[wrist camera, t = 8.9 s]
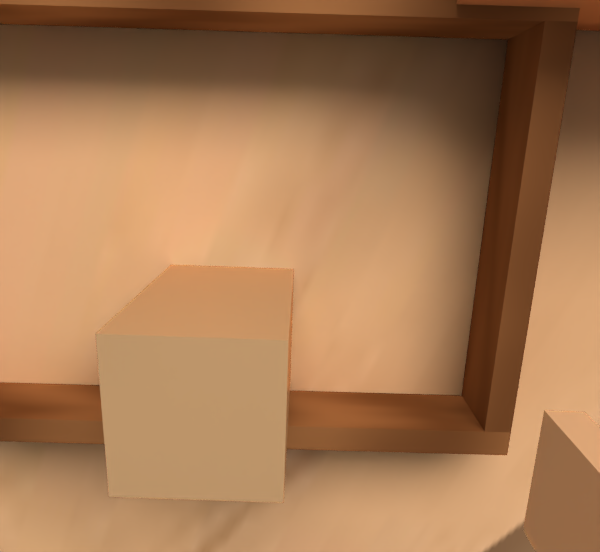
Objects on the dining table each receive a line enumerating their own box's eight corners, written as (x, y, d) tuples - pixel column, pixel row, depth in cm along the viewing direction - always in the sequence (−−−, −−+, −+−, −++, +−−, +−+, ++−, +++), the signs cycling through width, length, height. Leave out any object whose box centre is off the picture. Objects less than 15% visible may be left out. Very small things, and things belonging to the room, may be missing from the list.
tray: (-85, 400, 17) (-140, 437, 15) (-168, -13, 14) (-254, -42, 12) (481, 416, 17) (506, 455, 15) (540, 9, 14) (583, -16, 12)
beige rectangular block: (175, 375, 17) (108, 497, 11) (171, 264, 16) (95, 333, 10) (290, 379, 17) (283, 502, 11) (293, 268, 16) (288, 340, 10)
